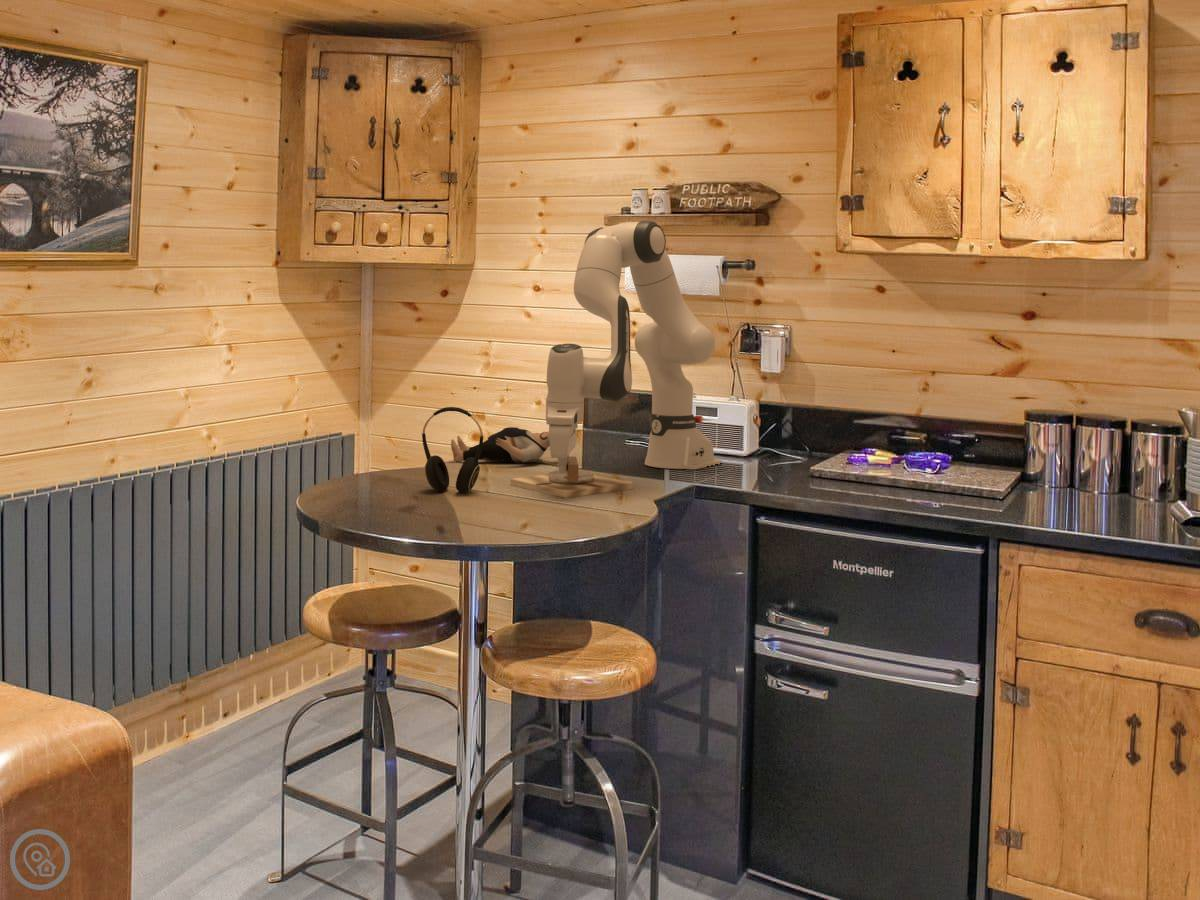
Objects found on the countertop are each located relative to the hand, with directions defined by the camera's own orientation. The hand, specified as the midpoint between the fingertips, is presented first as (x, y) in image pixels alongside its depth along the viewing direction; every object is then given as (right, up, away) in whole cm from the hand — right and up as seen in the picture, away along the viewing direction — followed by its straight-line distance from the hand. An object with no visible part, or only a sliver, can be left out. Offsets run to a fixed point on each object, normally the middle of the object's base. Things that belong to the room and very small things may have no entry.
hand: (563, 472), depth 265 cm
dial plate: (+2, -4, +7) cm, 9 cm away
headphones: (-26, -5, -2) cm, 26 cm away
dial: (+2, -2, +5) cm, 6 cm away
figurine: (-17, +2, +45) cm, 48 cm away
